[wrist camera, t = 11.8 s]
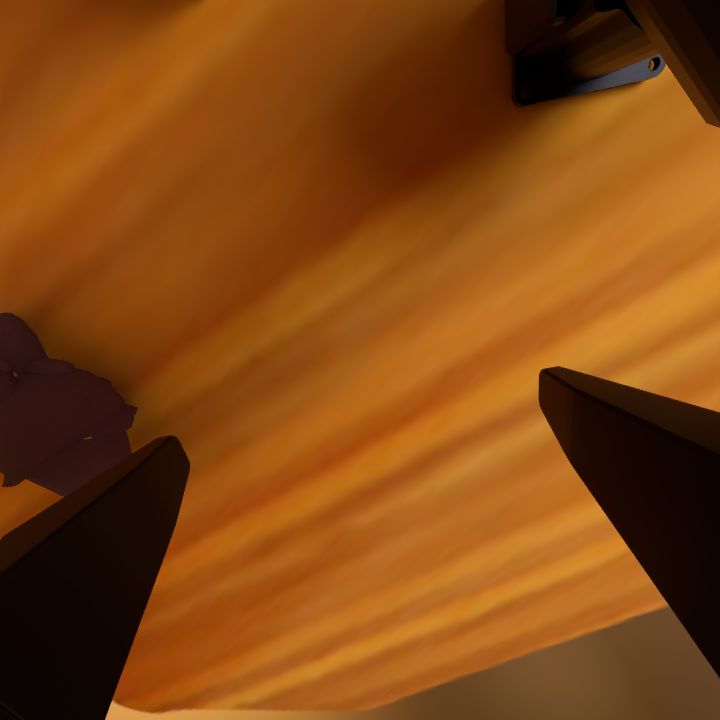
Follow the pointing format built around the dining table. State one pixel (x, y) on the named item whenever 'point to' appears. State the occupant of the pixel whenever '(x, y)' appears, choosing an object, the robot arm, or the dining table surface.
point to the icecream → (55, 416)
